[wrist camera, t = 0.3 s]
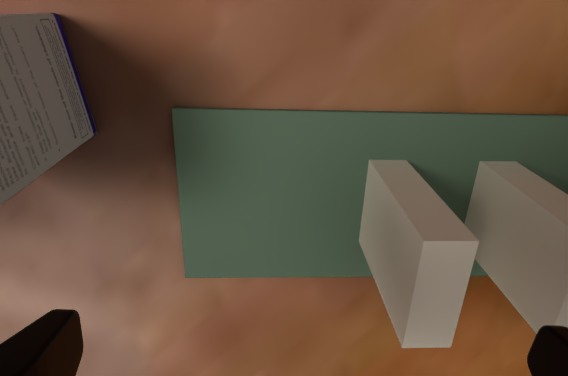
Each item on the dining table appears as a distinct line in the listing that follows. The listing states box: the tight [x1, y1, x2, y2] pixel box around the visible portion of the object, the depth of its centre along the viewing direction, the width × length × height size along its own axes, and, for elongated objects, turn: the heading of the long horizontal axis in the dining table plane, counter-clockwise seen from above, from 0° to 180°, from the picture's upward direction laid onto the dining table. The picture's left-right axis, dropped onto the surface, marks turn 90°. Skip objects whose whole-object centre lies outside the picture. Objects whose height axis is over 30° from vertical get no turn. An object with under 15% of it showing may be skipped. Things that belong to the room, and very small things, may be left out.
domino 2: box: [464, 161, 568, 334], centre depth 20 cm, size 5×2×8 cm, turn 178°
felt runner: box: [172, 107, 568, 278], centre depth 23 cm, size 10×32×1 cm, turn 88°
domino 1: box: [359, 160, 479, 348], centre depth 19 cm, size 5×2×8 cm, turn 178°
